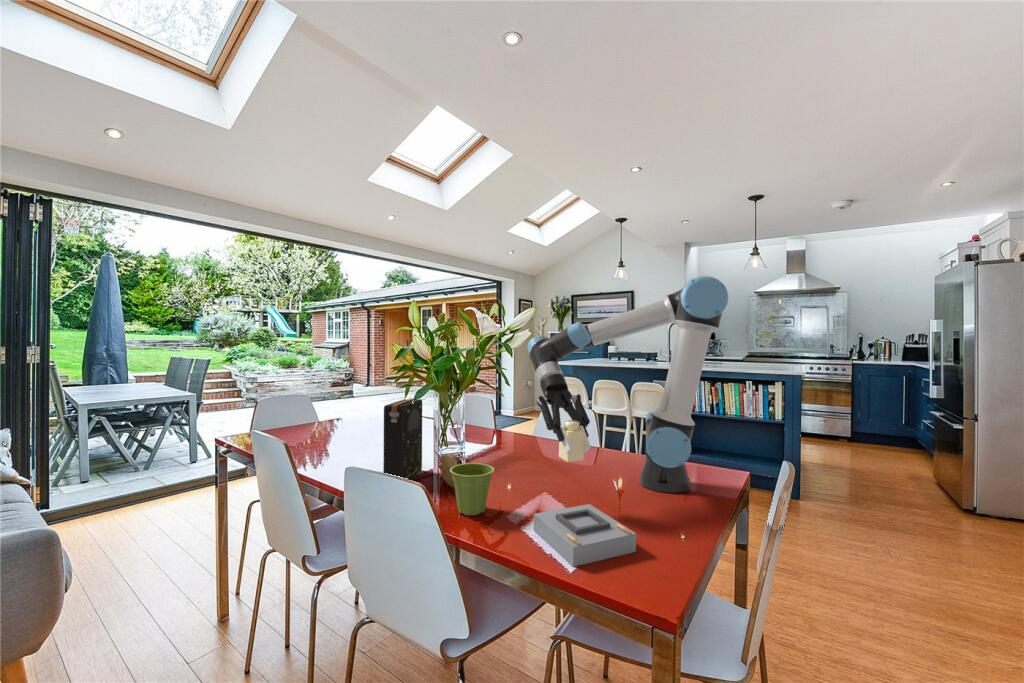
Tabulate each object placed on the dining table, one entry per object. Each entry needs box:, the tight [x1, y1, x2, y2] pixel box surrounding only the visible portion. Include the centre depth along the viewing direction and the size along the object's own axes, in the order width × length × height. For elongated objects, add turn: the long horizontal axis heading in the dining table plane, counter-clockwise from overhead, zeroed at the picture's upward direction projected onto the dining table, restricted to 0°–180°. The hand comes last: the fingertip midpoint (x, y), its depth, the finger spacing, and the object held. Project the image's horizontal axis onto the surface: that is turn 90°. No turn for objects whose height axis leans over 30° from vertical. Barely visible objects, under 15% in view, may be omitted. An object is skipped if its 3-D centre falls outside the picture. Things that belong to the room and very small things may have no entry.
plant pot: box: [450, 462, 495, 517], centre depth 116 cm, size 12×12×11 cm
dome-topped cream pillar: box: [558, 419, 585, 463], centre depth 118 cm, size 5×5×10 cm
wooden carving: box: [438, 453, 464, 489], centre depth 135 cm, size 16×5×10 cm, turn 43°
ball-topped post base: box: [533, 503, 637, 568], centre depth 100 cm, size 16×18×5 cm
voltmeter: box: [382, 398, 423, 480], centre depth 144 cm, size 16×9×25 cm, turn 168°
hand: (578, 450), depth 115 cm, fingers closed on dome-topped cream pillar, 5 cm apart
